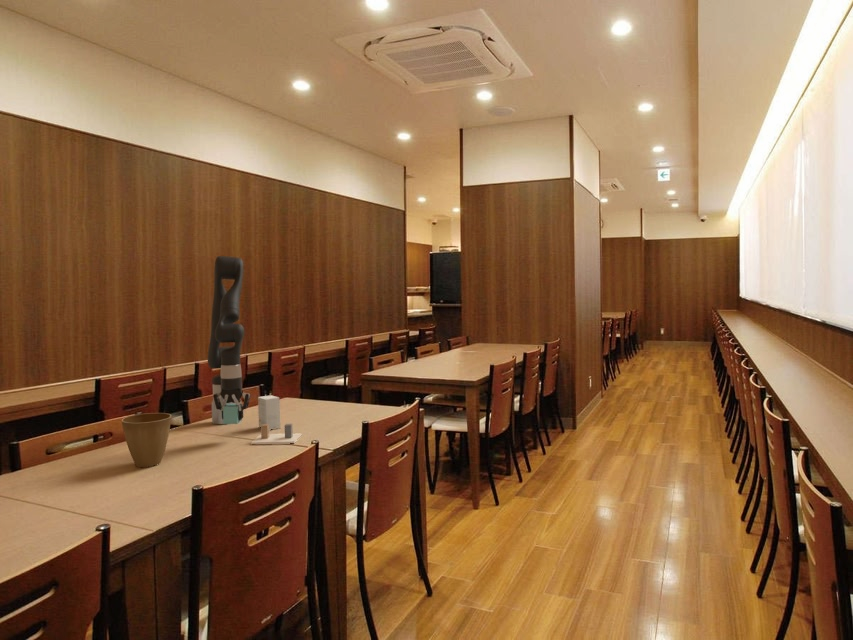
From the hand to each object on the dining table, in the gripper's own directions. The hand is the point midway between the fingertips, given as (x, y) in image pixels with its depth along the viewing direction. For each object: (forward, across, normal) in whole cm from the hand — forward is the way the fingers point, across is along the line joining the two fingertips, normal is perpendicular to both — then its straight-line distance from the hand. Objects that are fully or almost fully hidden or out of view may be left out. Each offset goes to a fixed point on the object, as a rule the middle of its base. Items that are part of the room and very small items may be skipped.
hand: (232, 419), depth 217 cm
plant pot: (+8, +18, +28) cm, 35 cm away
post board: (+8, -17, 0) cm, 19 cm away
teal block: (+1, 0, 0) cm, 1 cm away
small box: (+9, -8, -20) cm, 23 cm away
